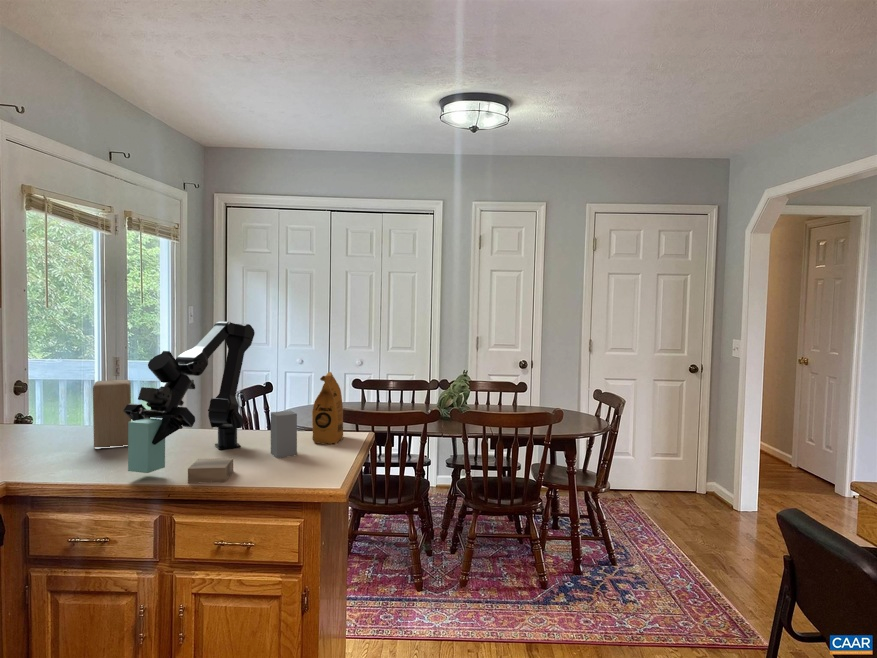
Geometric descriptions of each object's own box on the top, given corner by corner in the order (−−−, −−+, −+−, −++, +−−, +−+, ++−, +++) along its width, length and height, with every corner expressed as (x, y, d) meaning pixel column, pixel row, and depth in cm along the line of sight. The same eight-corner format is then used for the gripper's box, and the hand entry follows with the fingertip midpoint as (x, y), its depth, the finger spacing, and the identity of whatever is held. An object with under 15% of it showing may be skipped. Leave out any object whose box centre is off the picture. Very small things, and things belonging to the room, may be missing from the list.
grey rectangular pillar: (270, 453, 173) (270, 412, 172) (290, 450, 176) (290, 410, 175) (276, 458, 168) (276, 415, 167) (296, 455, 171) (296, 413, 170)
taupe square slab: (198, 473, 153) (198, 458, 153) (233, 472, 154) (233, 458, 154) (187, 484, 144) (187, 468, 144) (225, 483, 145) (225, 467, 145)
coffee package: (307, 444, 184) (307, 376, 183) (318, 435, 197) (318, 371, 196) (337, 445, 183) (337, 376, 182) (346, 436, 196) (347, 371, 195)
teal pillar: (145, 465, 152) (146, 418, 151) (164, 467, 150) (165, 419, 150) (128, 471, 146) (128, 421, 146) (147, 473, 144) (148, 423, 144)
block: (93, 450, 174) (92, 385, 173) (95, 443, 183) (94, 380, 182) (131, 447, 178) (130, 383, 178) (131, 440, 187) (130, 379, 186)
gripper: (127, 373, 153) (94, 423, 143) (187, 376, 148) (156, 428, 138) (150, 397, 161) (120, 446, 151) (207, 401, 156) (179, 452, 146)
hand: (142, 442), depth 146 cm, fingers closed on teal pillar, 6 cm apart
